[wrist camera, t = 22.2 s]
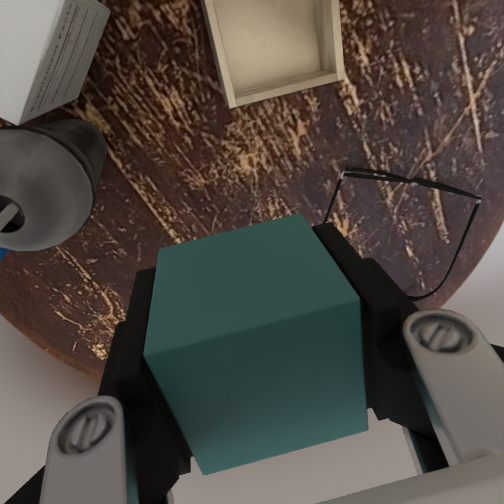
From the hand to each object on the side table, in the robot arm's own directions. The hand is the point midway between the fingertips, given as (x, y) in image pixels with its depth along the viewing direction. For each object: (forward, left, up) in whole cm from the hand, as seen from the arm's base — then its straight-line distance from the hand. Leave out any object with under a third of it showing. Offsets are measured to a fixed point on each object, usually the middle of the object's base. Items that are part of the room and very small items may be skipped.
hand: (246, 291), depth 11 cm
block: (0, 0, 0) cm, 0 cm away
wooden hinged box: (+2, +10, -25) cm, 28 cm away
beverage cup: (-10, -4, -26) cm, 28 cm away
